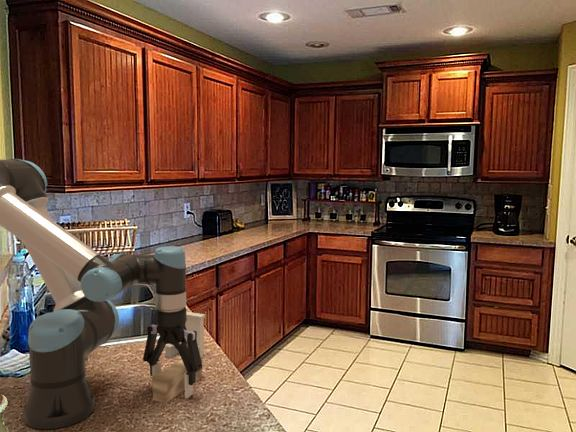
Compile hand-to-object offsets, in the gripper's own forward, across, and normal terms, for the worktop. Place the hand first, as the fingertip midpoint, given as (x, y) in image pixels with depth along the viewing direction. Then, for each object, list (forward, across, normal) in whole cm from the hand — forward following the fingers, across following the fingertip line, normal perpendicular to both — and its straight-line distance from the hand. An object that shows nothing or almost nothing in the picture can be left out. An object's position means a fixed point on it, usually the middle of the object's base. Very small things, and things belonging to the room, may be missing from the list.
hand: (172, 391), depth 124 cm
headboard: (0, +11, -22) cm, 25 cm away
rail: (0, 0, -3) cm, 3 cm away
